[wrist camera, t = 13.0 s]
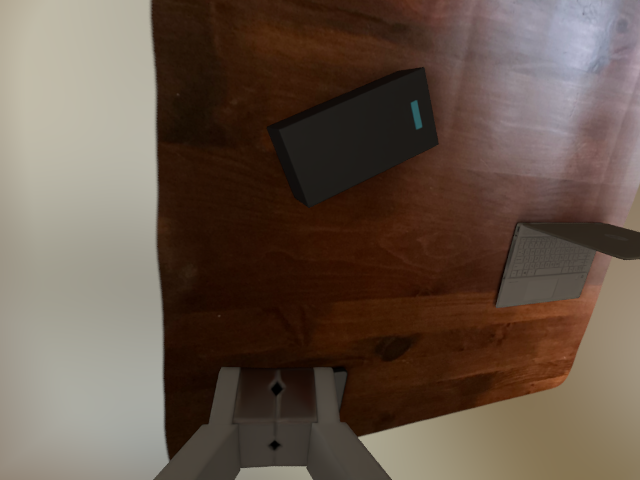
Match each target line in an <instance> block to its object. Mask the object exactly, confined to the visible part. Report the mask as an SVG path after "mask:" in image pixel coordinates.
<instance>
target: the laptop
mask: <svg viewBox="0 0 640 480" xmlns="http://www.w3.org/2000/svg"><path fill="white" fill-rule="evenodd" d="M596 251H599V252H602V253H605V254H608V255H610V256H613V257H616V258H619V259H623V260H634V259H640V232H636V231H633V230H629V229H625V228H621V227H618V226H614V225H610V224H603V223H518V224H517V227H516V231H515V234H514V238H513V241H512V245H511V249H510V252H509V256H508V260H507V264H506V268H505V271H504V275H503V279H502V283H501V287H500V291H499V295H498V299H497V304H496V308H500V307H508V306H516V305H525V304H533V303H541V302H549V301H558V300H566V299H574V298H579V297H580V294H581V291H582V289H583V286H584V283H585V280H586V278H587V275H588V272H589V269H590V267H591V264H592V261H593V258H594V256H595V253H596Z"/></svg>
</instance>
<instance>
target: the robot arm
mask: <svg viewBox="0 0 640 480" xmlns="http://www.w3.org/2000/svg"><path fill="white" fill-rule="evenodd" d="M267 466H307V470H308V472H309V473H310V475H311V477H312V479H313V480H392V479H391V478H390V477H389V475H388V474H387V473H386V472H385V471H384V469H383V468H382V467H381V466H380V464H379V463H378V462H377V461H376V460H375V458H374V457H373V456H372V455H371V453H370V452H369V451H368V450H367V448H366V447H365V446H364V445H363V443H362V442H361V441H360V440H359V439H358V437H357V436H356V435H355V434H354V432H353V431H352V430H351V429H350V427H349V426H348V425H347V424H346V423H341V422H340V419H339V411H338V403H337V396H336V388H335V381H334V373H333V369H332V368H331V367H314V368H313V367H282V368H251V367H222V368H221V370H220V372H219V376H218V381H217V386H216V391H215V396H214V401H213V406H212V411H211V415H210V420H209V424H208V425H202V426H201V427H200V428H199V429H198V431H197V432H196V433H195V434H194V435H193V436H192V437H191V438H190V439H189V441H188V442H187V443H186V444H185V445H184V446H183V447H182V448H181V449H180V451H179V452H178V453H177V454H176V455H175V456H174V457H173V458H172V460H171V461H170V462H169V463H168V464H167V465H166V466H165V467H164V468H163V470H162V471H161V472H160V473H159V474H158V475H157V476H156V477H155V479H154V480H235V478H236V476H237V475H238V473H239V471H240V468H249V467H267Z"/></svg>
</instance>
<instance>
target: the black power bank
mask: <svg viewBox="0 0 640 480" xmlns="http://www.w3.org/2000/svg"><path fill="white" fill-rule="evenodd" d="M267 130H268V132H269V135H270V137H271V140H272V142H273V145H274V147H275V150H276V152H277V155H278V157H279V160H280V162H281V165H282V167H283V170H284V172H285V175H286V177H287V180H288V182H289V185H290V187H291V190H292V193H293V195H294V197H295V198H296V199H297V200H299V201H300V202H301V203H303V204H304V205H306V206H307V207H308V208H310V207H312V206H314V205H316V204H318V203H320V202H322V201H324V200H326V199H328V198H330V197H332V196H334V195H336V194H338V193H341V192H343V191H345V190H347V189H349V188H351V187H353V186H355V185H357V184H359V183H361V182H363V181H365V180H367V179H369V178H371V177H373V176H375V175H377V174H379V173H381V172H383V171H385V170H387V169H389V168H392V167H394V166H396V165H398V164H400V163H402V162H404V161H406V160H408V159H410V158H412V157H414V156H416V155H418V154H420V153H422V152H424V151H426V150H428V149H430V148H432V147H434V146H436V145H438V144H439V143H438V138H437V133H436V127H435V122H434V116H433V111H432V106H431V100H430V95H429V90H428V84H427V79H426V73H425V68H424V67H422V68H415V69H408V70H401V71H397V72H395V73H392V74H390V75H388V76H385V77H383V78H381V79H378V80H376V81H374V82H371V83H369V84H366V85H364V86H362V87H359V88H357V89H355V90H352V91H350V92H348V93H345V94H343V95H341V96H338V97H336V98H334V99H331V100H329V101H327V102H324V103H322V104H319V105H317V106H315V107H312V108H310V109H308V110H305V111H303V112H301V113H298V114H296V115H294V116H291V117H289V118H287V119H284V120H282V121H280V122H277V123H275V124H272V125H270V126H268V127H267Z"/></svg>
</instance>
